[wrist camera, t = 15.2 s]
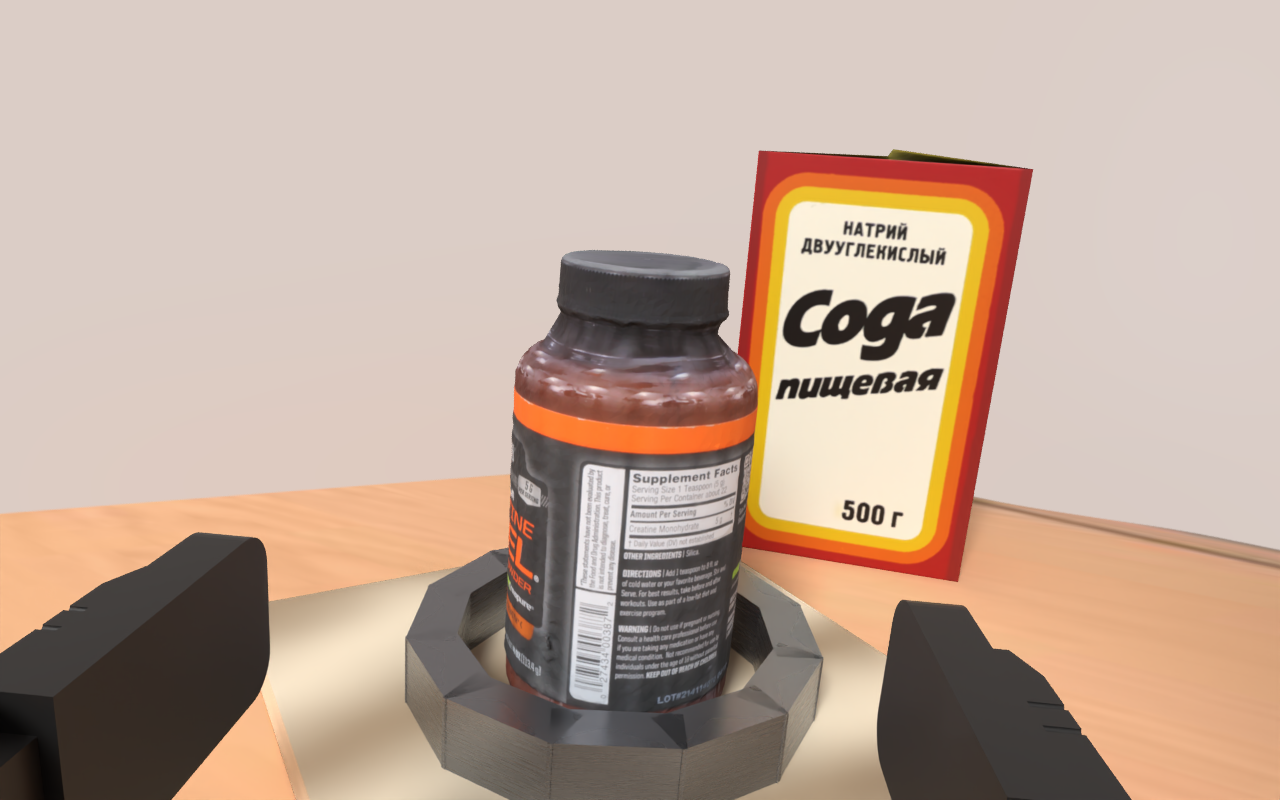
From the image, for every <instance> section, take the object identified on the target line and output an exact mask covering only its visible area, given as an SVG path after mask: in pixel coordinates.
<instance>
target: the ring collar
mask: <svg viewBox="0 0 1280 800" xmlns="http://www.w3.org/2000/svg"><path fill="white" fill-rule="evenodd" d="M507 566H508V548H505V549H499V550H492V551H490V552H488V553H487V554H485V555H483V556H481V557H479V558H477V559H476V560H474V561H472V562H470V563H468V564H467V565H465V566H463V567H461V568H459V569H457V570H456V571H454V572H452V573H450V574H448V575H447V576H445V577H443V578H441V579H439V580H437V581H436V582H434V583H432V584H429V585H428V589H427V591H426V593H425V595H424V598H423V600H422V602H421V604H420V607H419V609H418V611H417V613H416V616H415V618H414V620H413V622H412V625H411V627H410V629H409V631H408V634H407V636H405V703H406V704H407V705H408V707H409V709H410V711H411V712H412V714H413V716H414V718H415V719H416V721H417V723H418V725H419V726H420V728H421V730H422V732H423V734H424V735H425V737H426V739H427V741H428V742H429V744H430V746H431V748H432V749H433V751H434V753H435V755H436V757H437V758H438V760H439V762H440V764H441V767H442V768H443V769H444V770H445V769H446V770H448V771H450V772H452V773H454V774H456V775H458V776H460V777H463V778H465V779H467V780H469V781H471V782H473V783H475V784H477V785H479V786H481V787H484V788H486V789H488V790H490V791H492V792H494V793H496V794H498V795H500V796H502V797H504V798H507V799H509V800H735V799H737V798H740V797H742V796H745V795H747V794H750V793H752V792H755V791H757V790H760V789H762V788H765V787H767V786H770V785H772V784H775V783H778V782H780V778H781V776H782V774H783V773H784V771H785V769H786V768H787V766H788V764H789V762H790V761H791V759H792V757H793V756H794V754H795V752H796V750H797V749H798V747H799V745H800V744H801V742H802V740H803V738H804V737H805V735H806V733H807V731H808V730H809V728H810V726H811V725H812V723H813V721H815V715H816V708H817V701H818V694H819V687H820V680H821V673H822V666H823V658H824V657H822V654H821V652H820V650H819V648H818V645H817V643H816V641H815V638H814V636H813V634H812V631H811V629H810V627H809V625H808V622H807V620H806V618H805V615H804V613H803V611H802V609H801V605H800V604H799V603H797V602H795V601H794V600H792V599H791V598H789V597H788V596H786V595H785V594H783V593H782V592H780V591H779V590H777V589H776V588H774V587H773V586H771V585H770V584H768V583H767V582H765V581H764V580H762V579H760V578H759V577H757V576H756V575H754V574H753V573H751V572H750V571H748V570H747V569H745V568H744V567H742V566H741V565H740V570H739V578H738V587H737V595H736V605H735V614H734V622H733V632H732V639H731V645H730V646H731V648H732V649H733V650H735V651H736V652H737V653H738V654H740V655H741V656H742V657H743V658H745V659H746V660H747V661H748V662H750V663H751V664H752V665H753V668H754V671H755V673H754V675H753V676H752V677H751V679H750V680H749V681H748V683H747V684H746V685H745V686H744V688H743V689H741V690H738V691H735V692H732V693H728V694H725V695H722V696H719V697H716V698H713V699H710V700H706V701H703V702H700V703H697V704H694V705H691V706H688V707H685V708H681V709H678V710H675V711H672V712H669V713H647V712H625V711H603V710H581V709H568V708H565V707H563V706H560V705H558V704H555V703H553V702H550V701H548V700H545V699H543V698H540V697H538V696H535V695H533V694H530V693H528V692H525V691H523V690H520V689H518V688H516V687H513V686H511V685H508V684H506V683H503V682H501V681H498V680H496V679H493V678H491V677H490V676H489V675H488V674H487V672H486V671H485V670H484V668H483V667H482V666H481V664H480V663H479V662H478V660H477V659H476V658H475V656H474V655H473V654H472V652H471V651H470V650H472V649H473V648H475V647H476V646H478V645H479V644H481V643H482V642H484V641H485V640H486V639H488V638H489V637H491V636H492V635H494V634H495V633H497V632H498V631H500V630H501V629H502V628H504V627H505V617H506V602H507Z"/></svg>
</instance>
